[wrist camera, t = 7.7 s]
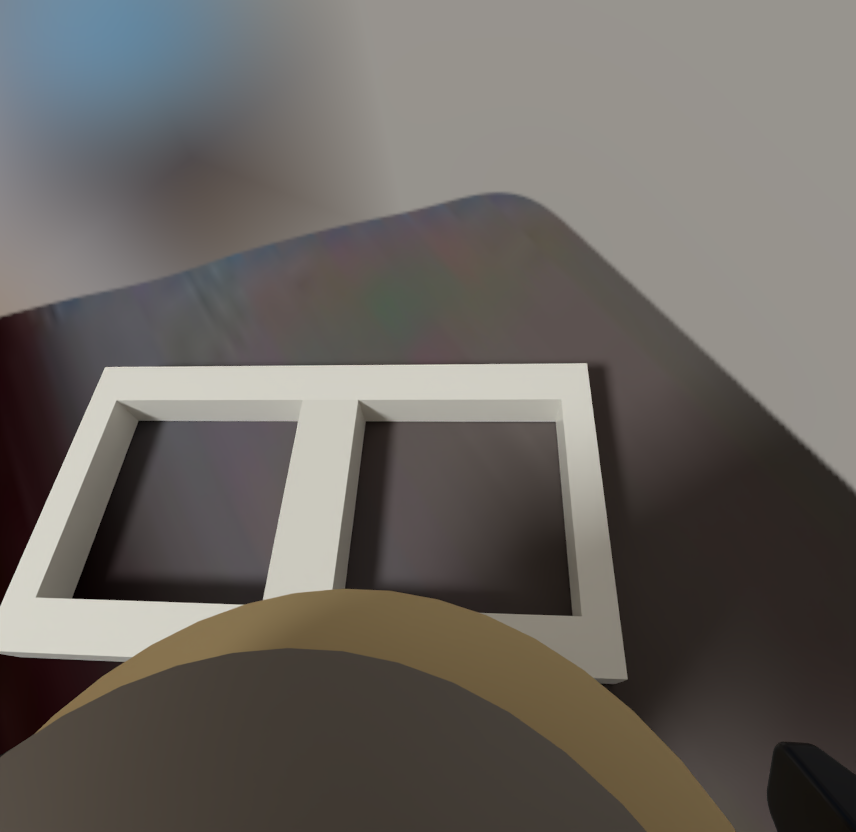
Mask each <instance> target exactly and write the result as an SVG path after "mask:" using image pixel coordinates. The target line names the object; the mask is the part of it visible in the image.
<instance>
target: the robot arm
mask: <svg viewBox="0 0 856 832" xmlns="http://www.w3.org/2000/svg"><path fill="white" fill-rule="evenodd" d="M12 749H13V748H12ZM9 751H10V750H9ZM7 752H8V751H7ZM7 752H5V753H7ZM5 753H4V754H5ZM4 754H2V755H4ZM2 755H0V757H1V756H2ZM767 801H768V806H769V810H770V813H771V816H772V819H773V821H774V824H775V827H776V829H777V832H856V775H855V774H854V773H852V772H851V771H849V770H848V769H847V768H845V767H844V766H843V765H841V764H840V763H839V762H837V761H836V760H835V759H833V758H832V757H830V756H829V755H828V754H826V753H825V752H824V751H822V750H821V749H819V748H818V747H816V746H814V745H812V744H809V743H796V742H780V743H778V744H777V745H776V746H775V748H774V751H773V757H772V763H771V769H770V775H769V781H768V787H767Z"/></svg>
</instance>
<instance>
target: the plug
mask: <svg viewBox="0 0 856 832" xmlns="http://www.w3.org/2000/svg"><path fill="white" fill-rule="evenodd" d="M0 832H736V831H735V829H734V828H733V826H732V825H731V823H730V822H729V820H728V819H727V818H726V817H725V815H724V814H723V813H722V812H721V810H720V809H719V808H718V807H717V805H716V804H715V803H714V801H713V800H712V799H711V798H710V796H709V795H708V794H707V793H706V791H705V790H704V789H703V787H702V786H701V785H700V784H699V782H698V781H697V780H696V779H695V777H694V776H693V775H692V774H691V772H690V771H689V770H688V768H687V767H686V766H685V765H684V763H683V762H682V761H681V760H680V759H679V758H678V757H677V756H676V755H675V754H674V753H673V752H672V751H671V749H670V748H669V747H668V746H667V745H666V744H665V743H664V742H663V741H662V740H661V739H660V738H659V737H658V736H657V735H656V734H655V733H654V732H653V731H652V730H651V729H650V728H649V727H648V726H647V725H646V724H645V723H644V722H643V721H642V720H641V719H640V717H639V716H638V715H637V714H636V713H635V712H634V711H633V710H632V709H630V708H629V707H628V706H627V705H625V704H624V703H623V702H622V701H621V700H619V699H618V698H617V697H616V696H615V695H613V694H612V693H611V692H610V691H609V690H607V689H606V688H605V687H604V686H603V685H601V684H600V683H599V682H598V681H596V680H595V679H594V678H593V677H592V676H590V675H589V674H588V673H587V672H586V671H584V670H583V669H581V668H580V667H578V666H577V665H575V664H574V663H572V662H571V661H569V660H567V659H566V658H564V657H563V656H561V655H560V654H558V653H557V652H555V651H554V650H552V649H550V648H549V647H547V646H546V645H544V644H543V643H541V642H540V641H538V640H536V639H535V638H533V637H531V636H529V635H526V634H524V633H522V632H520V631H518V630H516V629H514V628H512V627H510V626H508V625H506V624H504V623H501V622H499V621H497V620H495V619H493V618H491V617H489V616H487V615H484V614H481V613H478V612H475V611H472V610H469V609H466V608H463V607H460V606H456V605H453V604H450V603H447V602H444V601H441V600H438V599H432V598H427V597H421V596H416V595H411V594H405V593H400V592H394V591H384V590H361V589H333V590H322V591H312V592H301V593H293V594H288V595H284V596H279V597H275V598H270V599H266V600H262V601H257V602H253V603H248V604H245V605H242V606H239V607H237V608H234V609H231V610H228V611H226V612H223V613H220V614H217V615H215V616H212V617H209V618H206V619H204V620H201V621H198V622H196V623H194V624H192V625H190V626H188V627H186V628H184V629H182V630H180V631H178V632H176V633H174V634H172V635H170V636H168V637H166V638H164V639H162V640H160V641H158V642H156V643H154V644H152V645H150V646H149V647H147V648H146V649H144V650H143V651H141V652H140V653H138V654H136V655H135V656H133V657H132V658H130V659H129V660H127V661H126V662H124V663H123V664H121V665H120V666H118V667H116V668H115V669H113V670H112V671H110V672H109V673H107V674H106V675H104V676H103V677H101V678H100V679H99V680H97V681H96V682H95V683H94V684H92V685H91V686H90V687H89V688H88V689H86V690H85V691H84V692H83V693H81V694H80V695H79V696H78V697H76V698H75V699H74V700H73V701H71V702H70V703H69V704H68V705H66V706H65V707H64V708H63V709H61V710H60V711H59V712H58V713H56V714H55V715H54V716H53V717H52V718H51V719H50V720H49V721H48V722H47V723H46V724H45V725H44V726H42V727H41V728H40V729H39V730H38V731H37V732H36V733H35V734H34V735H33V736H31V737H30V738H28V739H26V740H25V741H23V742H22V743H20V744H19V745H17V746H16V747H14V748H13V749H11V750H10V751H8V752H7V753H5V754H4V755H2V756H1V757H0Z"/></svg>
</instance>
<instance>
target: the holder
mask: <svg viewBox="0 0 856 832" xmlns="http://www.w3.org/2000/svg"><path fill="white" fill-rule="evenodd" d="M138 421H298V426H297V431H296V436H295V441H294V446H293V451H292V456H291V461H290V466H289V471H288V476H287V481H286V486H285V491H284V496H283V501H282V506H281V511H280V516H279V521H278V526H277V531H276V536H275V541H274V546H273V551H272V556H271V561H270V566H269V571H268V576H267V581H266V586H265V592H264V597H263V600H266V599H270V598H275V597H279V596H284V595H288V594H293V593H301V592H312V591H322V590H333V589H345V584H346V576H347V568H348V560H349V552H350V544H351V536H352V528H353V520H354V512H355V504H356V496H357V488H358V480H359V472H360V464H361V456H362V447H363V439H364V431H365V423H366V421H455V422H556V430H557V442H558V453H559V465H560V476H561V488H562V500H563V511H564V523H565V535H566V546H567V558H568V569H569V581H570V593H571V604H572V616H555V615H526V614H497V613H481V614H484V615H487V616H489V617H491V618H493V619H495V620H497V621H499V622H501V623H504V624H506V625H508V626H510V627H512V628H514V629H516V630H518V631H520V632H522V633H524V634H526V635H529V636H531V637H533V638H535V639H536V640H538V641H540V642H541V643H543V644H544V645H546V646H547V647H549V648H550V649H552V650H554V651H555V652H557V653H558V654H560V655H561V656H563V657H564V658H566V659H567V660H569V661H571V662H572V663H574V664H575V665H577V666H578V667H580V668H581V669H583V670H584V671H586V672H587V673H588V674H589V675H590V676H592V677H593V678H594V679H595V680H596V681H598V682H599V683H600V684H617V683H619V682H622V681H625V680H627V679H628V677H627V670H626V662H625V654H624V646H623V639H622V631H621V623H620V615H619V608H618V600H617V592H616V584H615V577H614V569H613V561H612V553H611V546H610V538H609V530H608V522H607V515H606V507H605V499H604V492H603V484H602V476H601V468H600V461H599V453H598V445H597V437H596V430H595V422H594V414H593V406H592V399H591V391H590V383H589V375H588V368H587V363H574V364H446V365H317V366H189V367H105V369H104V371H103V374H102V376H101V378H100V380H99V383H98V385H97V387H96V389H95V392H94V394H93V396H92V399H91V401H90V403H89V405H88V408H87V410H86V412H85V415H84V417H83V419H82V421H81V424H80V426H79V428H78V431H77V433H76V435H75V437H74V440H73V442H72V444H71V446H70V449H69V451H68V453H67V456H66V458H65V460H64V462H63V465H62V467H61V469H60V472H59V474H58V476H57V478H56V481H55V483H54V485H53V487H52V490H51V492H50V494H49V497H48V499H47V501H46V503H45V506H44V508H43V510H42V513H41V515H40V517H39V519H38V522H37V524H36V526H35V528H34V531H33V533H32V535H31V538H30V540H29V542H28V544H27V547H26V549H25V551H24V554H23V556H22V558H21V560H20V563H19V565H18V567H17V569H16V572H15V574H14V576H13V579H12V581H11V583H10V585H9V588H8V590H7V592H6V595H5V597H4V599H3V601H2V604H1V606H0V654H5V655H11V656H16V657H30V658H52V659H74V660H96V661H118V662H126V661H127V660H129V659H130V658H132V657H133V656H135V655H136V654H138V653H140V652H141V651H143V650H144V649H146V648H147V647H149V646H150V645H152V644H154V643H156V642H158V641H160V640H162V639H164V638H166V637H168V636H170V635H172V634H174V633H176V632H178V631H180V630H182V629H184V628H186V627H188V626H190V625H192V624H194V623H196V622H198V621H201V620H204V619H206V618H209V617H212V616H215V615H217V614H220V613H223V612H226V611H228V610H231V609H234V608H237V607H239V606H242V605H237V604H209V603H180V602H151V601H122V600H93V599H72V597H73V594H74V591H75V589H76V586H77V583H78V581H79V578H80V575H81V573H82V570H83V567H84V565H85V562H86V559H87V557H88V554H89V551H90V549H91V546H92V543H93V541H94V538H95V535H96V533H97V530H98V528H99V525H100V522H101V520H102V517H103V514H104V512H105V509H106V506H107V504H108V501H109V498H110V496H111V493H112V490H113V488H114V485H115V482H116V480H117V477H118V474H119V472H120V469H121V466H122V464H123V461H124V458H125V456H126V453H127V450H128V448H129V445H130V442H131V440H132V437H133V434H134V432H135V429H136V426H137V424H138Z"/></svg>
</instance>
